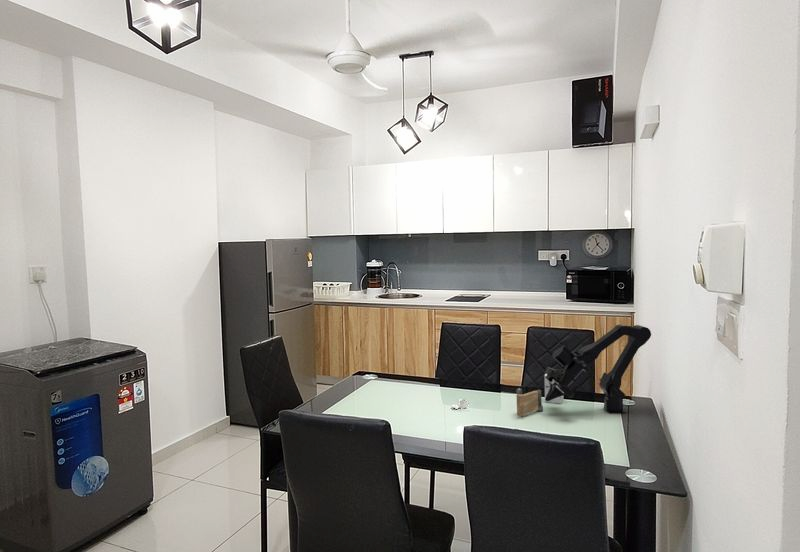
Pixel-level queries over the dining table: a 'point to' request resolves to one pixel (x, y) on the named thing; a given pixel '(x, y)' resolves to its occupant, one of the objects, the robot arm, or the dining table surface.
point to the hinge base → (540, 408)
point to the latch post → (519, 391)
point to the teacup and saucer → (461, 404)
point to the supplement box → (547, 387)
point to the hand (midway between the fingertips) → (546, 400)
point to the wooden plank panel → (528, 402)
